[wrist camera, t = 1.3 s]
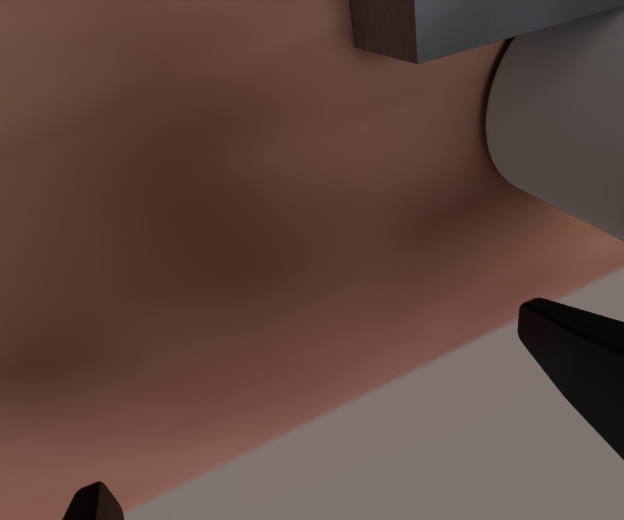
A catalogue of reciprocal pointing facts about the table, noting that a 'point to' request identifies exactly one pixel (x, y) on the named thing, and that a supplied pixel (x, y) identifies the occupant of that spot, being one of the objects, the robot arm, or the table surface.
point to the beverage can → (564, 117)
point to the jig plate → (456, 23)
